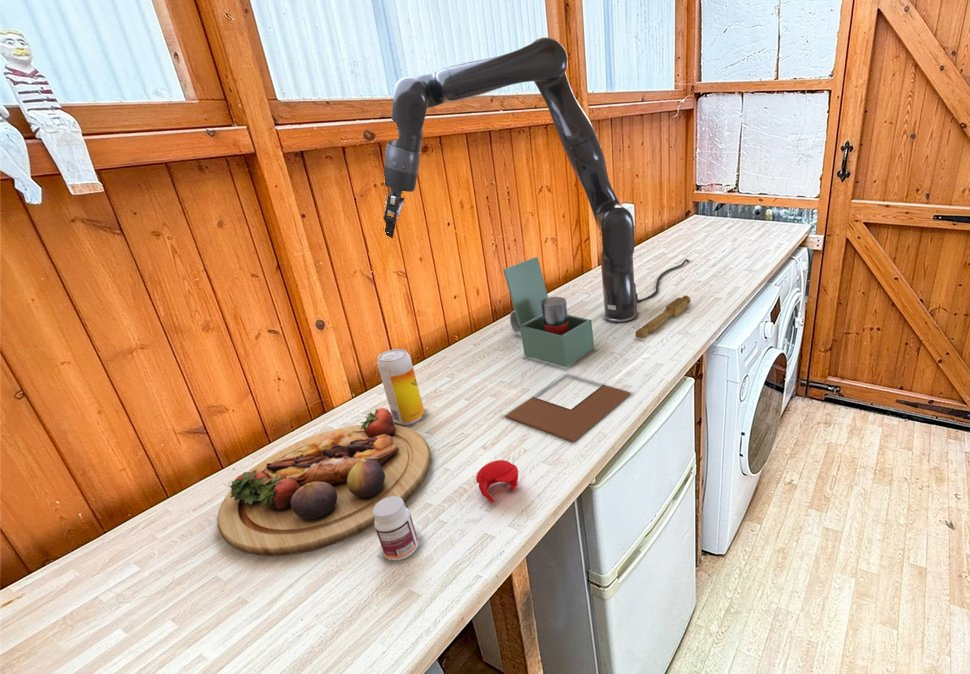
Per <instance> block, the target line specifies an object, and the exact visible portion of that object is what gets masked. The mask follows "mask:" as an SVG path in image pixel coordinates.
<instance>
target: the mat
mask: <svg viewBox="0 0 970 674" xmlns="http://www.w3.org/2000/svg"><path fill="white" fill-rule="evenodd" d="M630 395H631V392H630V391H626V390H623V389H619V388H616V387H613V386H610V385H606V384H602V385H601V386H599V387H598V388H597V389H596V390H595V391H593V392H592V393H590V394H589V395H588V396H587V397H585V398H584V399H583V400H581V401H580V402H579V403H577V404H576V405H575V406H573V407H572V408H571V409H570V408H568V407H565V406H563V405H562V406H561V405H558V404H556V403H553V402H550V401H547V400H543V399H541V398H537V397H534V396H532V397H531V398H529V399H528V400H526V401H525V402H523V403H522V404H520V405H519V406H517V407H516V408H514V409H513V410H511V411H509V412H508V413H507V414H505V418H506V419H509V420H512V421H515V422H516V423H517V422H518V423H520V424H522V425H525V426H529V427H531V428H533V429H537V430H539V431H542V432H544V433H547V434H550V435H553V436H555V437H558V438H561V439H562V440H566V441H568V442H572V443H574V442H576V441H577V440H578V439H579V438H581V436H583V435H584V434H585V433H586V432H588V431H589V430H590V429H591V428H592V427H593V426H595V425H596V424H597V423H598V422H600V420H602V419H603V418H604V417H605V416H607V415H608V414H609V413H610V412H611V411H612V410H613V409H615V408H616V407H617V406H618V405H620V404H621V403H622V402H623V401H624V400H625V399H627V398H628V397H629V396H630Z"/></svg>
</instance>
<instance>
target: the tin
mask: <svg viewBox="0 0 970 674" xmlns="http://www.w3.org/2000/svg"><path fill="white" fill-rule="evenodd" d="M541 305H542V313H543V321H544V330H545V331H546V332H550V333H554V334H558V335H563V334H565V333H567V332H568V331H569V324H568V317H567V315H568V308H567V301H566V298H565V297H561V296H551V297H549V296H548V298H546V299H544V300H542V301H541Z"/></svg>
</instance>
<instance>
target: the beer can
mask: <svg viewBox="0 0 970 674" xmlns="http://www.w3.org/2000/svg"><path fill="white" fill-rule="evenodd" d="M376 365H377V368H378V372H379V375H380V379H381V382H382V386H383V389H384V392H385V396H386V400H387V403H388V406H389V411H390V413H391V415H392V417H393V422H395V423H397V425H400V426H407V425H412V424H415V423H417V422H418V421H420V420H421V419H422V417H423V415H424V413H425V408H424V404H423V401H422V397H421V393H420V389H419V385H418V382H417V377H416V374H415V369H414V366H413V361H412V358H411V355H410V354H409V353H408V351H407V350H406V349H403V348H393V349H389V350H385V351H384V352H381V353H380V354H379V355H378V356H377V362H376Z"/></svg>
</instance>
